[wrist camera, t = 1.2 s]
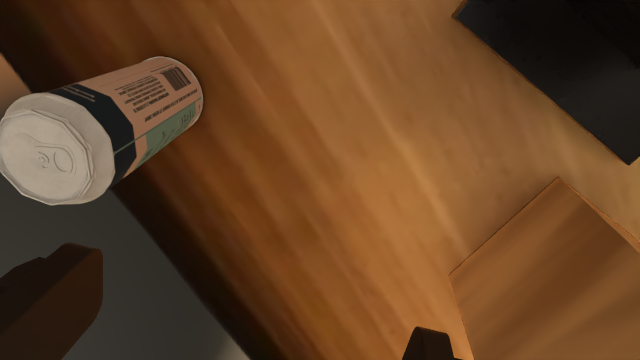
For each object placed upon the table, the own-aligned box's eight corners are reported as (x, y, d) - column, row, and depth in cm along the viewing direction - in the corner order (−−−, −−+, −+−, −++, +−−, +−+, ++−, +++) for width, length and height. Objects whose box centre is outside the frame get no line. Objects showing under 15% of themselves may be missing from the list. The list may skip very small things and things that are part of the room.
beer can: (129, 52, 27) (-35, 93, 16) (203, 57, 26) (90, 104, 15) (138, 126, 29) (-2, 209, 18) (207, 132, 28) (109, 220, 17)
